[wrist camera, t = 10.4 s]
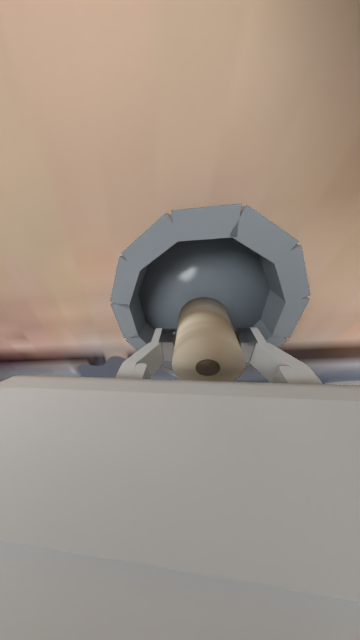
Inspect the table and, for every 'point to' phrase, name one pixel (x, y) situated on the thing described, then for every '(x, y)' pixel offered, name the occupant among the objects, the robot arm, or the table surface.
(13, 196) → the table surface
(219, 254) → the round dish
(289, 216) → the table surface
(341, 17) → the table surface
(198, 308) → the wooden bead
